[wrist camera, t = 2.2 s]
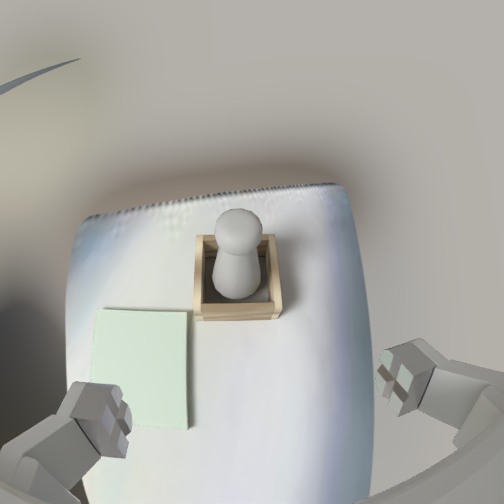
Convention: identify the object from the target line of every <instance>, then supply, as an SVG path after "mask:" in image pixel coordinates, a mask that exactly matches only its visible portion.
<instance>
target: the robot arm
mask: <svg viewBox="0 0 504 504" xmlns="http://www.w3.org/2000/svg"><path fill="white" fill-rule="evenodd" d="M380 362H381V363H382V365H381V366H380V367H379V369H378V370H377V373H376V377H375V380H376V386H377V389H378V391H379V392H380V394H381V395H382V396H383V397H386V398H388V399H389V402H388V405H389V406H390V407H391V409H392V410H393V411H394V413H395V414H396V415H397V417H399V416H401V415H404V414H406V413H409V412H411V411H413V410H416V409H418V410H419V411H422V412H423V413H426V414H428V415H430V416H432V417H434V418H436V419H438V420H440V421H442V422H444V423H446V424H449V425H451V426H453V427H455V428H457V429H459V431H458V433H457V435H456V436H455V437H454V439H453V443H454V445H455V446H456V447H457V448H458V450H457V451H455V452H454V453H452V454H451V455H449V456H448V457H446V458H445V459H443V460H441V461H440V462H439V463H437V464H435V465H434V466H432V467H430V468H428V469H426V470H425V471H423V472H421V473H419V474H418V475H416V476H414V477H412V478H410V479H408V480H406V481H404V482H402V483H400V484H398V485H396V486H394V487H392V488H390V489H388V490H385V491H383V492H381V493H378V494H376V495H374V496H371V497H369V498H366V499H363V500H361V501H358V502H355V503H353V504H504V373H503V372H499V371H495V370H491V369H487V368H482V367H478V366H474V365H470V364H466V363H463V362H459V361H454V360H450V361H448V360H447V359H446V358H445V357H444V356H442V355H441V354H440V353H439V352H438V351H437V350H435V349H434V348H433V347H432V346H431V345H429V344H428V343H427V342H426V341H425V340H424V339H421V338H417V339H415V340H412V341H409V342H407V343H404V344H401V345H398V346H395V347H392V348H388V349H385V350H383V352H382V353H381V356H380ZM122 396H123V393H122V391H121V389H120V386H118V385H114V384H101V383H90V382H89V383H86V382H78V381H76V382H74V383H72V385H71V387H70V388H69V390H68V392H67V394H66V396H65V398H64V400H63V402H62V404H61V406H60V408H59V410H58V412H57V414H56V415H51V416H49V417H48V418H46V419H45V420H43V421H41V422H40V423H38V424H37V425H35V426H34V427H32V428H30V429H29V430H27V431H26V432H24V433H23V434H21V435H19V436H18V437H16V438H15V439H13V440H11V441H10V442H8V443H7V444H5V445H4V446H3V447H2V449H1V451H0V504H81V502H80V501H79V500H78V499H77V498H76V497H75V496H74V495H72V494H71V493H70V492H69V490H70V489H71V488H72V487H73V486H74V485H75V484H76V483H77V482H78V481H79V480H80V479H81V478H82V477H83V476H84V475H85V474H86V473H87V472H88V471H89V470H90V469H91V468H92V466H93V465H94V464H95V463H96V462H97V461H98V460H99V459H100V458H101V456H105V457H114V458H126V453H127V448H128V444H129V442H128V440H127V439H126V437H125V436H127V435H128V434H129V433H130V432H131V429H132V414H131V410H130V408H129V406H128V404H127V403H126V402H124V401H123V400H122Z"/></svg>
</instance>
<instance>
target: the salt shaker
mask: <svg viewBox="0 0 504 504" xmlns="http://www.w3.org/2000/svg"><path fill="white" fill-rule="evenodd" d="M262 230H263V229H262V224H261V222H260V220H259V218H258V217H257V216H256V215H255V214H254V213H253V212H251V211H248V210H245V209H230V210H228V211H226V212H224V213H222V215H221V216H220V217H219V218H218V219H217V221H216V226H215V231H214V234H215V238H216V241H217V244H218V246H219V249H218V253H217V257H216V260H215V264H214V268H213V274H212V280H213V283H214V286H215V289H216V290H217V291H218V292H219V293H220V294H222V295H223V296H224V297H227V298H230V299H232V300H237V299H245V298H247V297H248V296H250V295H252V294H254V292H255V291H256V289H257V288H258V286H259V284H260V279H261V271H260V265H259V259H258V254H257V248H256V247H257V246H258V245H259V243H260V242H261V238H262Z"/></svg>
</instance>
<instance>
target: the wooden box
mask: <svg viewBox="0 0 504 504" xmlns="http://www.w3.org/2000/svg"><path fill="white" fill-rule="evenodd" d="M256 248H257V254H258V256H265V258H266V270H267V282H268V294H269V302H268V303H224V304H204V285H205V257H217V253H218V249H219V246H218V244H217V241H216V238H215V235H197V236H196V253H195V272H194V298H193V312H194V314H195V316H196V319H197V321H242V320H272V319H277V318H278V317H279V315H280V313H281V311H282V309H283V308H282V298H281V288H280V278H279V268H278V259H277V250H276V241H275V234H262V238H261V242H260V243H259V245H258V246H257V247H256Z"/></svg>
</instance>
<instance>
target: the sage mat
mask: <svg viewBox="0 0 504 504" xmlns="http://www.w3.org/2000/svg"><path fill="white" fill-rule="evenodd" d="M187 324H188V314H187V312H156V311H128V310H109V309H97V311H96V319H95V327H94V336H93V347H92V360H91V378H90V383H101V384H114V385H118V386H120V389H121V391H122V393H123V396H122V400H123V401H124V402H126V403H127V404H128V406H129V408H130V410H131V414H132V425H137V426H145V427H154V428H164V429H177V430H188V400H187Z"/></svg>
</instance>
